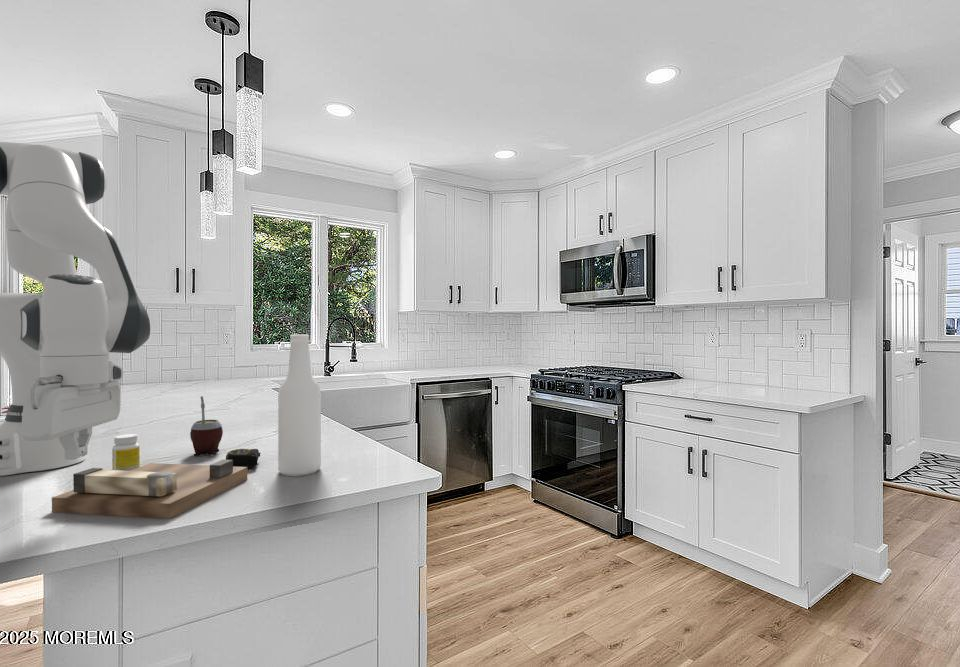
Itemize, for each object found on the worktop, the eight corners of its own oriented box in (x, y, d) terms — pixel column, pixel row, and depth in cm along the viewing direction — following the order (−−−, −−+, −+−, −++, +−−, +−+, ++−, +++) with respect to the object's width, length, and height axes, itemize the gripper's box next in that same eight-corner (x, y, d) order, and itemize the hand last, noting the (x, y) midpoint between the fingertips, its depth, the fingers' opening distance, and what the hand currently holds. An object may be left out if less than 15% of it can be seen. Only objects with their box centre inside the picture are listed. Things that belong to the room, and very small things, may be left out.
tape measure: (257, 470, 112) (257, 453, 112) (223, 473, 110) (223, 455, 110) (260, 462, 119) (260, 446, 119) (228, 464, 117) (228, 448, 117)
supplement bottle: (144, 473, 109) (144, 434, 109) (121, 479, 105) (121, 439, 105) (130, 471, 111) (130, 432, 111) (107, 476, 107) (107, 437, 107)
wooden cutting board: (51, 512, 87) (51, 482, 86) (151, 474, 108) (151, 451, 108) (169, 518, 84) (169, 488, 84) (247, 479, 106) (247, 455, 105)
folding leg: (178, 489, 90) (178, 471, 90) (162, 496, 86) (161, 478, 86) (92, 485, 92) (92, 467, 92) (73, 492, 88) (73, 473, 88)
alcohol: (280, 479, 106) (280, 335, 105) (276, 468, 113) (275, 334, 113) (324, 473, 110) (324, 334, 109) (317, 463, 117) (316, 334, 117)
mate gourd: (211, 448, 131) (211, 390, 131) (230, 452, 127) (230, 393, 127) (182, 455, 125) (182, 394, 125) (201, 459, 121) (201, 396, 121)
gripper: (56, 378, 73) (57, 473, 73) (128, 368, 94) (128, 443, 94) (6, 379, 72) (7, 476, 72) (89, 369, 92) (90, 445, 92)
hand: (76, 457), depth 83 cm, fingers closed
